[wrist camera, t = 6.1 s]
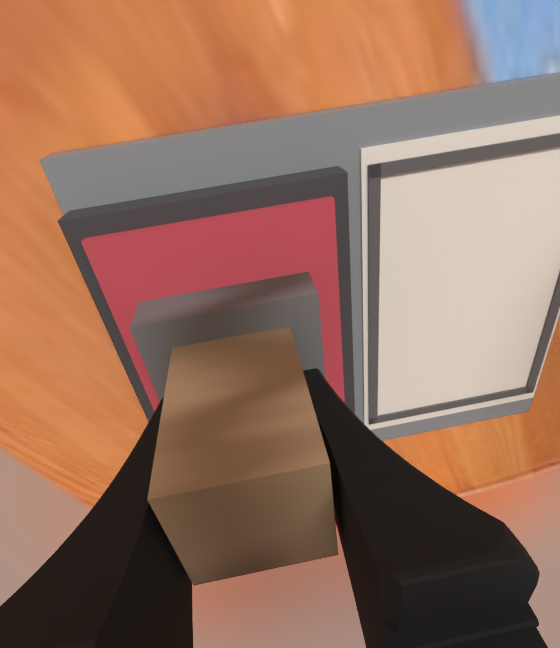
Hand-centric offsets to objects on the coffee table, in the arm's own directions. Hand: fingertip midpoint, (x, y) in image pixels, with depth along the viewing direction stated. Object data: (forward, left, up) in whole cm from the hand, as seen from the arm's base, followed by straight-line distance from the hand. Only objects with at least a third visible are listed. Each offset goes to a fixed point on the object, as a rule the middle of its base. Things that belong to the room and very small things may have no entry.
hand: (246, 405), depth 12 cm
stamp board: (-5, 0, -4) cm, 6 cm away
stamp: (0, -1, -2) cm, 2 cm away
